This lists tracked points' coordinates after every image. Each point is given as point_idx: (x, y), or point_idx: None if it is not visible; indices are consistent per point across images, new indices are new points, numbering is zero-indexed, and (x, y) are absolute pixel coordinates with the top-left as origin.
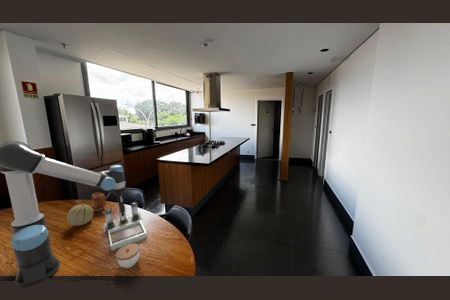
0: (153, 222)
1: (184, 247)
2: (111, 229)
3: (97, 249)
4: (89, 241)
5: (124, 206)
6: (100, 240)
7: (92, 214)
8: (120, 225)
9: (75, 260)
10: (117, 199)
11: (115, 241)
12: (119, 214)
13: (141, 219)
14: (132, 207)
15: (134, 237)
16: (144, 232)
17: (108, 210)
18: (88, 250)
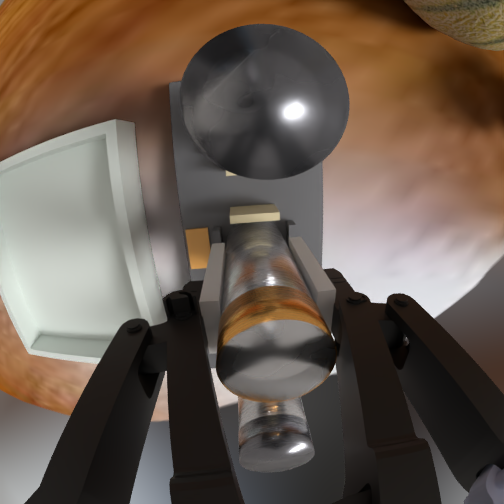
0: (166, 392)
1: (5, 389)
2: (115, 148)
3: (29, 90)
4: (138, 13)
5: (253, 399)
6: (101, 78)
7: (457, 25)
8: (204, 216)
9: (22, 22)
10: (401, 476)
11: (30, 185)
12: (246, 259)
13: (214, 362)
14: (246, 420)
15: (4, 297)
16: (44, 344)
17: (243, 103)
18: (49, 44)
